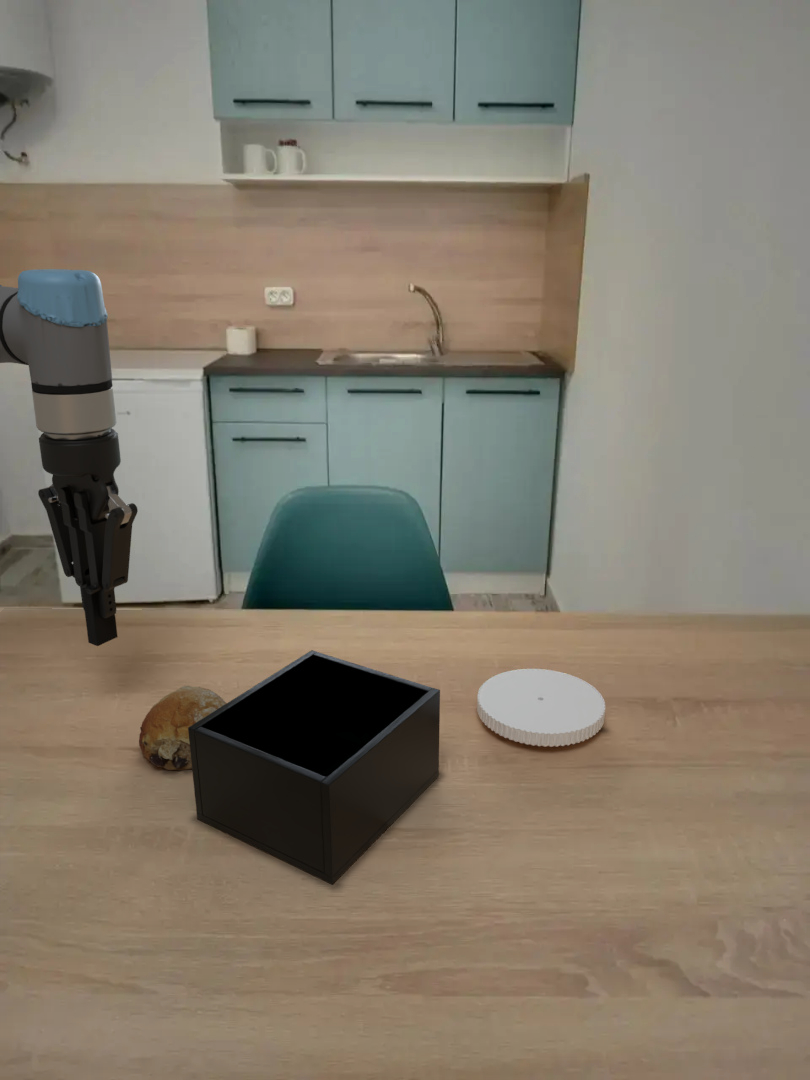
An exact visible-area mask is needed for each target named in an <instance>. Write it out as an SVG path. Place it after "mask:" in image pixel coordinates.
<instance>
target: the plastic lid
mask: <svg viewBox="0 0 810 1080" xmlns="http://www.w3.org/2000/svg"><path fill="white" fill-rule="evenodd" d="M476 711H477V715H478V717H479V719H480V721H481V722H482V723H484V726H486V727H487V728H488V729H490V731H491V732H494V733H495V734H498V735H499V736H500V737H503V738H505V739H508V740H509V741H513V742H516V743H517V742H519V744H525V745H526V746H527V745H528V746H529V745H531V746H532V747H533V746H537V747H541V746H542V747H544V748H545V747H550V748H552V747H557V748H558V747H559V746H560V747H565V746H570V745H575V744H579V743H581V742H585V741H586V740H589V739H590V738H593V736H595V735H596V734H598V733H599V731H601V729H602V728H603V725H604V723H605V717H606V701H605V699H604V696H602V693H600V691H599V690H597V687H594V685H591V684H590V683H589V682H587V680H583V679H582V678H579V677H578V676H574V674H569V673H564V671H561V672H560V671H558V670H553V669H548V668H546V669H543V668H536V667H535V668H523V669H522V668H519V669H513V670H511V669H510V670H508V671H507V670H506V671H505V672H500V673H497V674H496V675H493V676H490V677H489V679H486V681H483V683H481V685H480V687H479V689H478V691H477V697H476Z"/></svg>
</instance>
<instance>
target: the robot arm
mask: <svg viewBox="0 0 810 1080" xmlns="http://www.w3.org/2000/svg"><path fill="white" fill-rule="evenodd" d="M102 287H103V286H102V282H101V280H100V277H99V276H98V275H97V274H96V273H94V272H93V271H91V270H86V269H66V268H65V269H64V268H62V269H61V268H60V269H59V268H58V269H57V268H46V269H40V268H39V269H38V268H37V269H27V270H23V271H21V272H20V273H19V274H18V277H17V287H13V286H3V285H2V284H0V364H3V363H4V364H6V363H10V364H18V365H24V366H25V365H26V366H28V371H29V377H30V385H31V395H32V401H33V411H34V419H35V426H36V429H37V430H38V431H39V432H41V434H40V436H39V437H38V444H39V445H38V446H39V451H40V458H41V467H42V469H43V470H44V471H45V472H46V473H48V474H49V475H52V477H51V484H50V485H49V486H48V487H44V488H40V489H39V490H38V491H37V492H38V494H37V495H38V497H39V499H40V501H41V503H42V505H43V508H44V509H45V512H46V514H47V517H48V521H49V524H50V528H51V532H52V535H53V538H54V542H55V546H56V549H57V553H58V556H59V559H60V564H61V567H62V570H63V574H64V575H65V576H66V577H67V578H71V577H72V578H74V581H75V583H76V585H77V586H78V587H79V590H80V598H81V605H82V609H83V611H84V617H85V625H86V632H87V640H88V644H91V645H93V646H96V647H99V646H102V645H103V644H105V643H107V642H110V641H112V640H114V639H116V638H118V637H119V636H118V630H117V629H118V628H117V619H116V614H117V602H116V594H115V588H117V587H120V586H122V585H124V584H126V583H128V581H129V573H130V572H129V571H130V558H131V545H132V533H133V524H134V521H135V520H136V517H137V514H138V506H137V505H136V504H135V503H133V502H131V503H128V504H127V503H125V501H123V500H122V498H121V497H120V496H119V492H120V491H119V486H118V484H117V482H116V479H115V471H116V469H117V468H118V467H119V466H120V464H121V461H122V458H121V450H120V441H119V433H118V432H117V431H116V430H115V429H114V427H115V426H116V425H117V416H116V408H115V398H114V389H113V373H112V364H111V363H112V362H111V352H110V340H109V339H110V338H109V328H108V315H109V314H108V311H107V309H106V306H105V300H104V294H103V288H102Z"/></svg>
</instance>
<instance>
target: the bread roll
mask: <svg viewBox="0 0 810 1080" xmlns="http://www.w3.org/2000/svg"><path fill="white" fill-rule="evenodd" d="M227 703H228V702H226V701H225V699H224V698H223V697H221V696H220V695H219V694H217V693H216V692H215V691H213V690H211V689H209V688H205V687H201V686H191V685H183V686H181V687H180V688H178V689H176V690H174V691H172V692H170V693H168V694H166V695H165V696H163V697H162V698H161V699H160V700H159V701H157V702H156V703H155V704H154V705H152V707H150V710H149V711H148V712H147V713H146V715H145V717H144V719H143V720H142V723H141V726H140V733H139V739H138V746H139V748H140V751H141V753H142V755H143V756H144V757H145V759H146V760H147V761H149V762H151V764H152V765H153V766H155V767H156V766H157V767H158V768H163V769H165V770H166V771H167V770H168V771H183V770H192V762H191V752H190V743H189V733H188V727H190V726H191V725H193V724H195V723H196V722H198V721H199V720H201V719H203V718H204V717H206V716H207V715H209V714H211V713H212V712H214V711H215V710H217V709H219V708H220V707H222V706H223V705H225V704H227Z"/></svg>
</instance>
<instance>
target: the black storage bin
mask: <svg viewBox="0 0 810 1080" xmlns="http://www.w3.org/2000/svg"><path fill="white" fill-rule="evenodd" d="M226 703H227V704H225V705H223V706H222V707H220V708H219V709H217V710H215V711H214V712H212V713H211V714H209V715H207V716H206V717H204V718H203V719H201V720H199V721H198V722H196V723H195V724H193V725H191V726H190V727H188V733H189V743H190V752H191V762H192V769H191V771H192V772H191V773H192V782H193V788H194V789H193V790H194V801H195V810H196V819H197V820H198V821H200V822H201V823H203V824H206V825H207V826H210V827H213V828H214V829H217V831H220V832H222V833H224V834H227V835H229V836H231V837H232V838H235V839H237V840H239V841H241V842H243V843H246V844H248V845H250V846H252V847H253V848H255V849H258V850H260V851H262V852H264V853H266V854H268V855H270V856H272V857H273V858H275V859H278V860H280V861H283V862H284V863H287V864H288V865H290V866H293V867H294V868H297V869H298V870H301V871H304V872H305V873H307V874H309V875H311V876H313V877H315V878H317V879H320V880H321V881H324V882H325V883H328V884H330V885H334V884H335V883H336V882H337V881H338V880H339V879H340V878H341V877H342V876H343V875H344V874H345V873H346V872H347V871H348V870H349V868H351V867H352V866H353V865H354V864H355V863H356V861H358V860H359V858H360V857H361V856H363V854H364V853H366V851H367V850H368V849H369V848H370V847H371V846H372V845H373V844H374V843H375V842H376V841H377V840H378V839H379V838H380V837H381V836H382V835H383V834H384V833H385V832H386V831H387V830H388V829H389V828H390V827H391V826H392V825H393V823H395V822H396V821H397V820H398V818H400V817H401V815H402V814H404V813H405V812H406V810H407V809H409V807H410V806H411V805H412V804H413V803H414V802H416V800H417V799H418V798H419V797H420V796H421V795H422V794H423V793H424V792H425V791H426V790H427V789H428V788H429V787H430V786H431V785H432V784H433V783H434V782H435V781H436V780H437V779H438V778H439V775H440V769H439V768H440V725H441V723H440V720H441V719H440V718H441V690H440V689H439V688H435V687H431V686H428V685H425V684H421V683H419V682H415V681H412V680H408V679H406V678H402V677H399V676H396V675H393V674H390V673H387V672H384V671H380V670H377V669H373V668H371V667H367V666H365V665H361V664H357V663H354V662H352V661H348V660H345V659H341V658H339V657H335V656H331V655H330V654H329V655H328V654H325V653H322V652H320V651H317V650H312V649H311V650H309V651H308V652H306V653H305V654H303V655H301V656H299V657H298V658H297V659H295V660H294V661H292V662H290V663H289V664H287V665H286V666H284V667H282V668H280V669H279V670H278V671H276V672H274V673H273V674H271V675H270V676H267V677H266V678H264V679H263V680H261V681H259V682H258V683H257V684H255V685H254V686H252V687H250V688H249V689H247V690H246V691H244V692H242V693H241V694H239V695H238V696H236V697H235V698H233V699H231V700H229V701H228V702H226Z"/></svg>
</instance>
